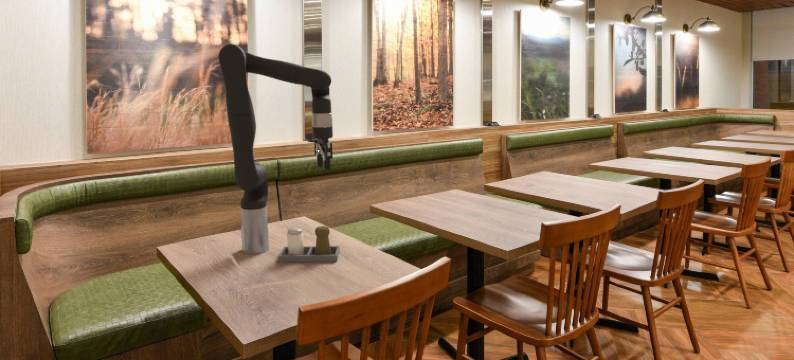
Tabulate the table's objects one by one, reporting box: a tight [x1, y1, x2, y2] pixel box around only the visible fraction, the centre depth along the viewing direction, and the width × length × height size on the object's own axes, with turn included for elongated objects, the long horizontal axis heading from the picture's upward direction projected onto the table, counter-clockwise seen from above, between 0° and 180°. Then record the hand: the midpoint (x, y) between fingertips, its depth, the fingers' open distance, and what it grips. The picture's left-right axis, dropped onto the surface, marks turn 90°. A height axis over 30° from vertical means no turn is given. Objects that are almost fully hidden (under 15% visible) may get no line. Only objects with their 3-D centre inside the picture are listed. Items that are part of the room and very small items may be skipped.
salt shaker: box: [286, 227, 305, 255], centre depth 194 cm, size 6×6×10 cm
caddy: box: [277, 245, 341, 263], centre depth 195 cm, size 20×11×3 cm, turn 91°
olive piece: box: [314, 225, 331, 255], centre depth 194 cm, size 6×6×11 cm
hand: (323, 168), depth 206 cm, fingers open, 8 cm apart
